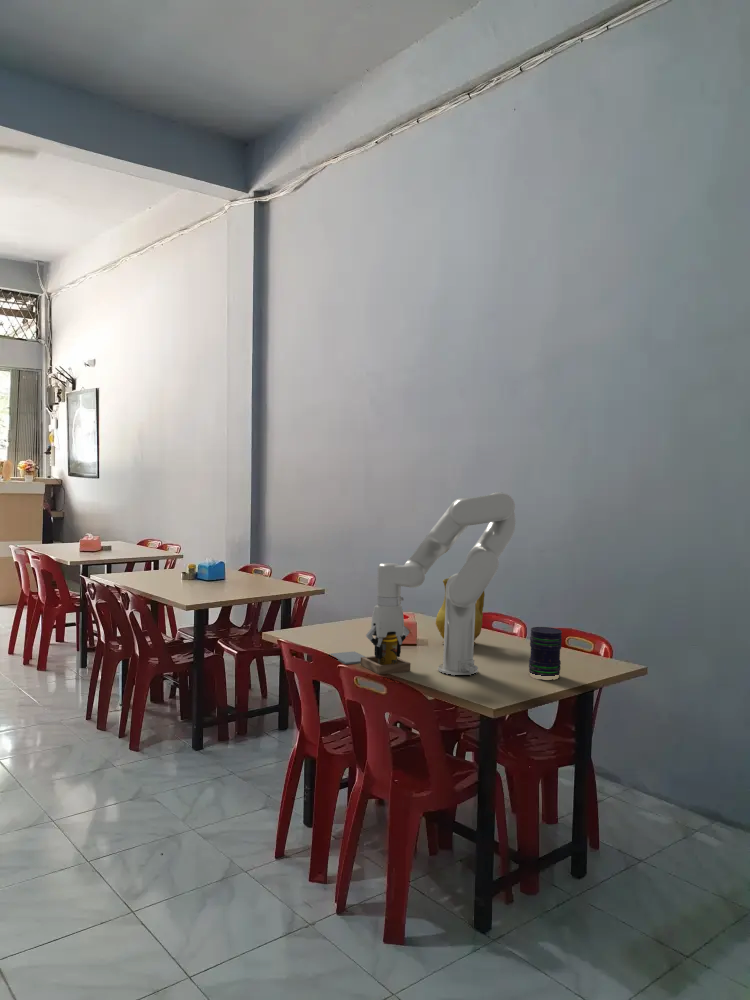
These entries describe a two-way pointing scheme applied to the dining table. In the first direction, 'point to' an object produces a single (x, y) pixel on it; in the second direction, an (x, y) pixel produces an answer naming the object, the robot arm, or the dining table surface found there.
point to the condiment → (389, 649)
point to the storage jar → (545, 651)
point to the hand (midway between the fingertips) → (387, 656)
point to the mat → (348, 657)
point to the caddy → (384, 669)
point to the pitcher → (478, 614)
